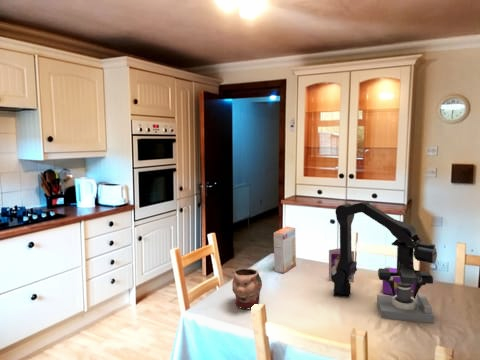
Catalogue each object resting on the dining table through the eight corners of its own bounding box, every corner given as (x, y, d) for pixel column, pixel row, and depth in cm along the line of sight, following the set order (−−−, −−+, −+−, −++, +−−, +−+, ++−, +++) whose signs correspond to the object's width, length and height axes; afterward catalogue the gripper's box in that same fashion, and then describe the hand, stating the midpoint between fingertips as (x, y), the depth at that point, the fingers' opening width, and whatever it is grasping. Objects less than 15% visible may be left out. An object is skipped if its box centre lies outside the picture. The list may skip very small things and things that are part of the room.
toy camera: (418, 298, 152) (419, 275, 150) (383, 296, 154) (384, 273, 153) (411, 288, 162) (412, 266, 161) (379, 286, 165) (379, 265, 164)
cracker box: (286, 263, 197) (286, 226, 195) (296, 265, 194) (296, 227, 191) (273, 271, 186) (273, 231, 183) (283, 273, 182) (283, 233, 180)
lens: (397, 306, 138) (397, 286, 137) (395, 301, 143) (395, 281, 142) (412, 308, 137) (412, 287, 136) (409, 301, 142) (409, 282, 141)
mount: (381, 318, 136) (381, 304, 135) (376, 301, 149) (377, 289, 149) (433, 323, 131) (434, 309, 131) (424, 305, 145) (425, 293, 144)
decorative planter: (237, 292, 162) (236, 262, 160) (264, 293, 160) (264, 263, 158) (228, 313, 142) (227, 279, 140) (259, 315, 140) (258, 280, 138)
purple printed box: (328, 281, 171) (328, 250, 170) (328, 275, 179) (328, 246, 177) (353, 282, 169) (354, 251, 167) (352, 277, 176) (353, 247, 174)
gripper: (381, 263, 132) (380, 304, 134) (438, 266, 128) (436, 309, 129) (378, 253, 143) (377, 291, 145) (430, 256, 138) (428, 295, 140)
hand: (403, 297), depth 139 cm, fingers open, 7 cm apart
